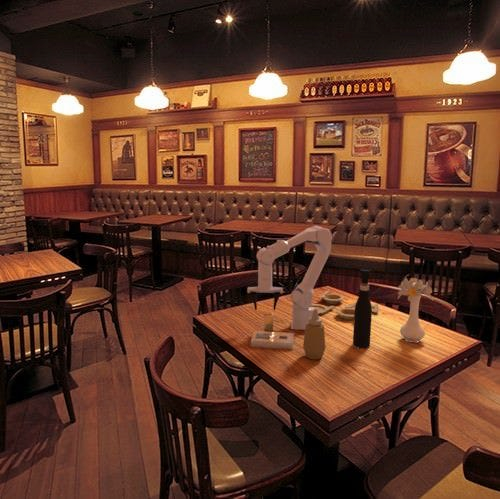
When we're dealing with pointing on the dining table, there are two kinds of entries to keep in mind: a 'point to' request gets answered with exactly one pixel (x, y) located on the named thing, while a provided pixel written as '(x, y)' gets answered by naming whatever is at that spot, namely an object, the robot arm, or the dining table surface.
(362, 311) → the wine bottle
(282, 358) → the dining table surface
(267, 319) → the brass fitting
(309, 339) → the squeeze bottle
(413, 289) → the flower vase
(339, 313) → the tableware set
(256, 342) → the plate
